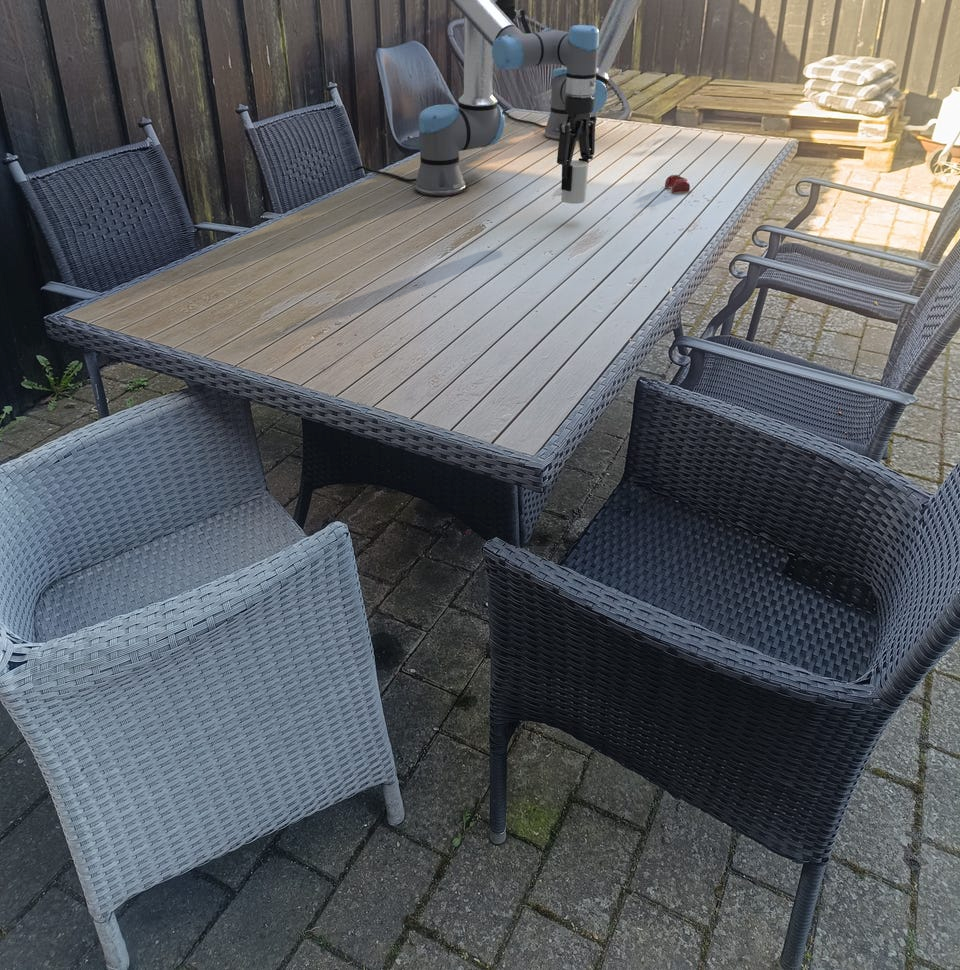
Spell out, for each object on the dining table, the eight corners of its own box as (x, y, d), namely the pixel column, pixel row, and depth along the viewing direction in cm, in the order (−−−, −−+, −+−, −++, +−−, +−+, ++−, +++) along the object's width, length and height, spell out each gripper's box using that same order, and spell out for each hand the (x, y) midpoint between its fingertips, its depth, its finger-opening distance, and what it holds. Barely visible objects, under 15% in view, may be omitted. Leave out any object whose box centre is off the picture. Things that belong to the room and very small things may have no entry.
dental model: (681, 171, 259) (692, 178, 253) (679, 184, 262) (690, 192, 256) (664, 173, 258) (675, 180, 252) (662, 186, 261) (673, 194, 255)
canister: (563, 195, 233) (565, 159, 227) (587, 197, 231) (590, 161, 226) (559, 202, 227) (561, 166, 222) (583, 204, 226) (586, 167, 220)
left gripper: (569, 103, 206) (564, 198, 219) (613, 90, 218) (605, 181, 232) (545, 99, 210) (541, 192, 223) (589, 87, 222) (583, 176, 235)
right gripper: (467, -6, 261) (467, 70, 274) (544, -7, 266) (541, 67, 278) (462, -8, 267) (463, 66, 280) (538, -10, 272) (535, 63, 284)
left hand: (574, 186), depth 227 cm, fingers closed on canister, 7 cm apart
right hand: (502, 66), depth 279 cm, fingers open, 13 cm apart
